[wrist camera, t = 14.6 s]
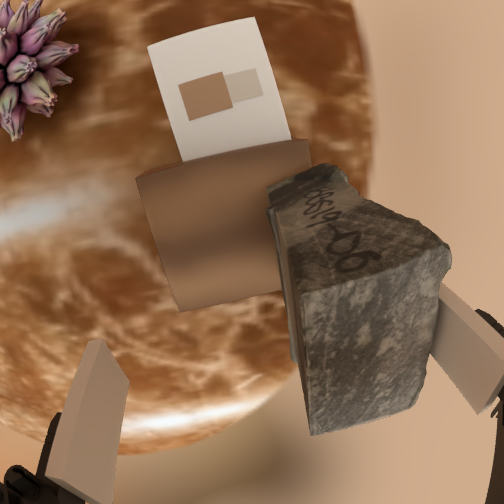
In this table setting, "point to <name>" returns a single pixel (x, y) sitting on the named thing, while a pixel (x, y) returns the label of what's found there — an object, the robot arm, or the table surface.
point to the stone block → (354, 297)
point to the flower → (29, 63)
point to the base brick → (219, 221)
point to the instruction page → (219, 89)
